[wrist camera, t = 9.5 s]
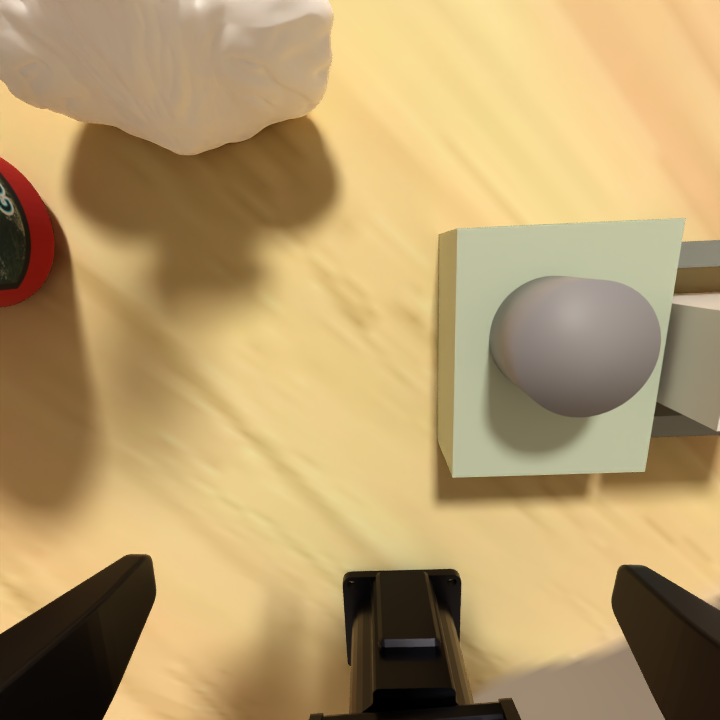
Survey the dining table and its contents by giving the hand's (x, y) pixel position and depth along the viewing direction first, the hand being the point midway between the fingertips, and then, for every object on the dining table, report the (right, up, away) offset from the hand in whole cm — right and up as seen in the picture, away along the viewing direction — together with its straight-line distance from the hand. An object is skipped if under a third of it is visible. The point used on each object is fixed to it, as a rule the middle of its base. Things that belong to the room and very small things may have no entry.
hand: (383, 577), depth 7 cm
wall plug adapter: (+10, +5, +11) cm, 16 cm away
